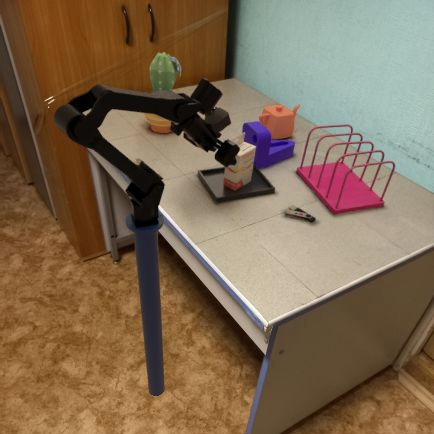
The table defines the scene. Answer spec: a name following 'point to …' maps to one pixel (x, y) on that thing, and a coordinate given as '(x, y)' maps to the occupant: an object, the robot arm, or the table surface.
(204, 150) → the robot arm
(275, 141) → the bracket
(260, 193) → the baking tray
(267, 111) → the teapot
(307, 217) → the usb flash drive
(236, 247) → the table surface
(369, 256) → the table surface
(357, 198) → the file sorter
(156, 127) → the potted cactus
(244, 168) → the ink cartridge box
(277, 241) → the table surface
